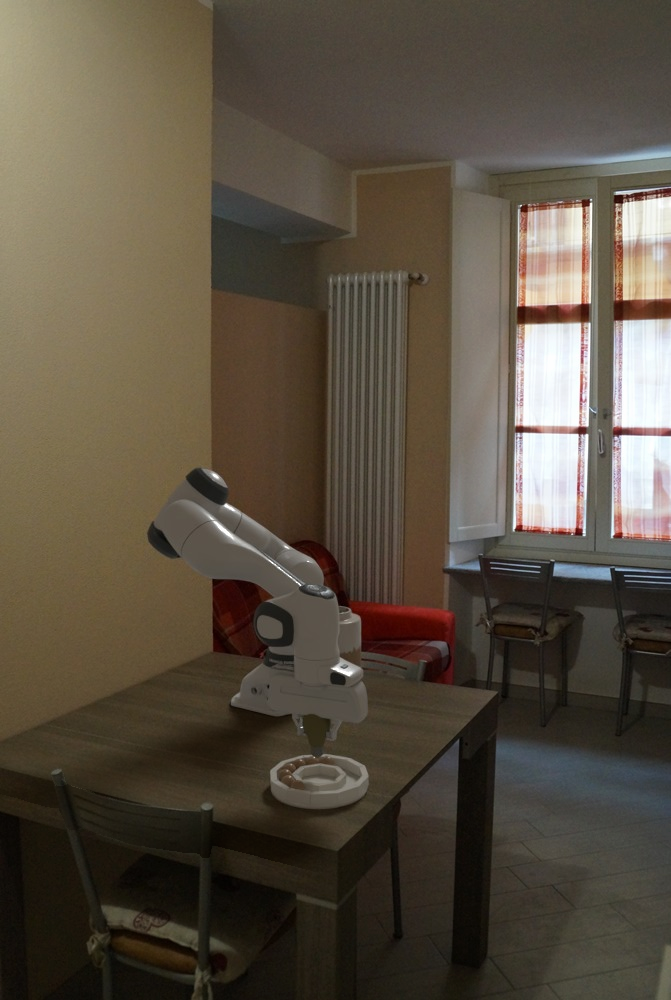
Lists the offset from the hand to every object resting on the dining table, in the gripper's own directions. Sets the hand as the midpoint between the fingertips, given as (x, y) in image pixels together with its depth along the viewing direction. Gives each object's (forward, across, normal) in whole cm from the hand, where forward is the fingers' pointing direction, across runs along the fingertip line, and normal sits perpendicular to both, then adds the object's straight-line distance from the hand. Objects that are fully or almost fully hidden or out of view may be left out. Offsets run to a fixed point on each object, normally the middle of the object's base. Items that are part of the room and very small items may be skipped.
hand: (317, 737), depth 184 cm
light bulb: (+4, 0, 0) cm, 4 cm away
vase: (+11, -30, +75) cm, 81 cm away
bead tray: (+10, 0, 0) cm, 10 cm away
